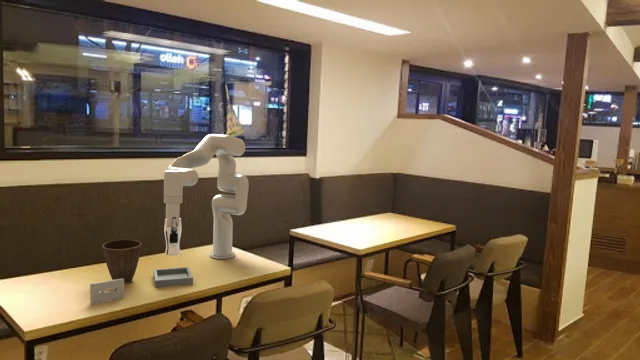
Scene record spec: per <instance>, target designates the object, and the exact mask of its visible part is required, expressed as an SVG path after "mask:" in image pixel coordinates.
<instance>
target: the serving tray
mask: <svg viewBox="0 0 640 360" xmlns="http://www.w3.org/2000/svg"><path fill="white" fill-rule="evenodd" d="M152 276H153V283H154V286H155V287H154V288H158V289H159V288H167V287H169V288H170V287H178V286H179V287H180V286H190V285H194V277H193V275H192V272H191V269H190V267H189V266H183V267H182V266H181V267H180V266H179V267H170V268H168V267H167V268H155V269H153V275H152Z"/></svg>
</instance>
